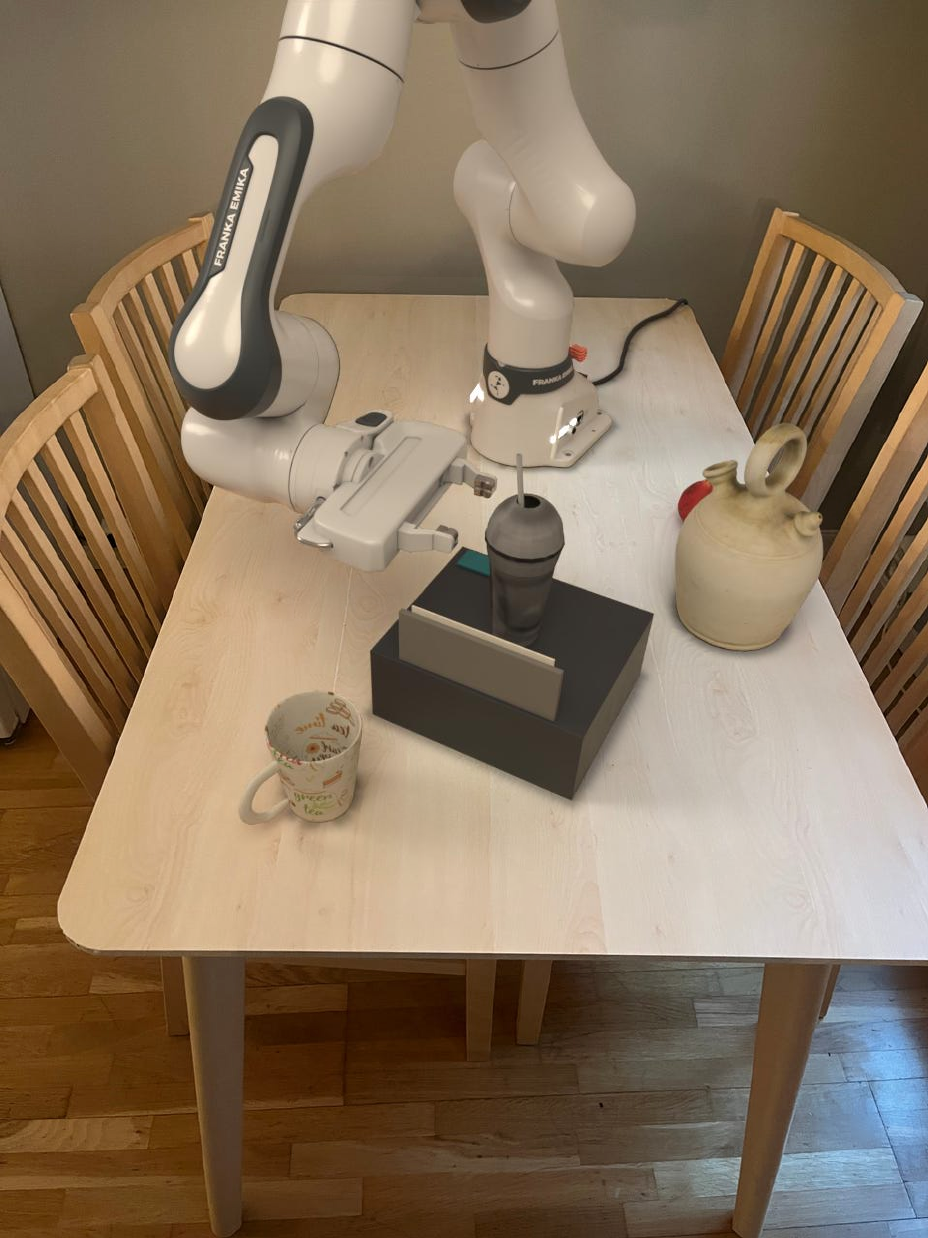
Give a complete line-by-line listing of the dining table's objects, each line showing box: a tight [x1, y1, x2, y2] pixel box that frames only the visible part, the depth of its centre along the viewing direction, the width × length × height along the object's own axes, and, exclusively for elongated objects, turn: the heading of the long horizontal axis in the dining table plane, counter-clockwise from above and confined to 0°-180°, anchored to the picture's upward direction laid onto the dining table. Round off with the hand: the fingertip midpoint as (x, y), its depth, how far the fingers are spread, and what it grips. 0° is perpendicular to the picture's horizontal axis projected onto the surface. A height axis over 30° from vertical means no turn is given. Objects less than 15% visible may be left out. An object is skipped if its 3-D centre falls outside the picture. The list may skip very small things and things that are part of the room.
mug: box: [238, 689, 363, 826], centre depth 82 cm, size 8×13×10 cm, turn 138°
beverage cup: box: [484, 453, 566, 647], centre depth 84 cm, size 7×7×20 cm
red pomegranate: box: [677, 478, 713, 523], centre depth 118 cm, size 6×6×8 cm
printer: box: [369, 546, 655, 801], centre depth 92 cm, size 19×22×16 cm
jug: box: [674, 422, 824, 652], centre depth 99 cm, size 15×16×25 cm
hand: (475, 514), depth 84 cm, fingers open, 8 cm apart
